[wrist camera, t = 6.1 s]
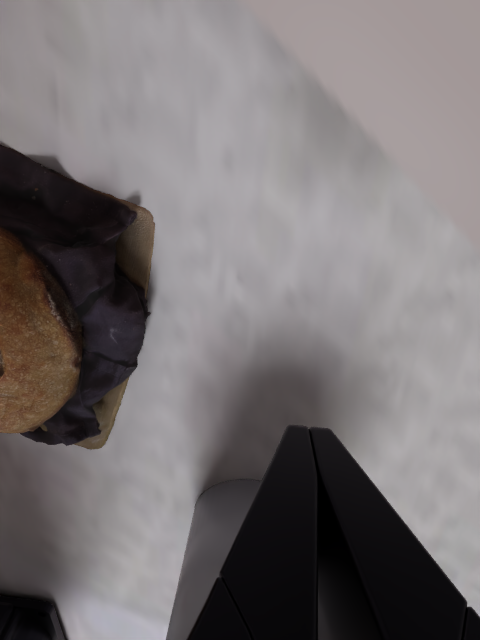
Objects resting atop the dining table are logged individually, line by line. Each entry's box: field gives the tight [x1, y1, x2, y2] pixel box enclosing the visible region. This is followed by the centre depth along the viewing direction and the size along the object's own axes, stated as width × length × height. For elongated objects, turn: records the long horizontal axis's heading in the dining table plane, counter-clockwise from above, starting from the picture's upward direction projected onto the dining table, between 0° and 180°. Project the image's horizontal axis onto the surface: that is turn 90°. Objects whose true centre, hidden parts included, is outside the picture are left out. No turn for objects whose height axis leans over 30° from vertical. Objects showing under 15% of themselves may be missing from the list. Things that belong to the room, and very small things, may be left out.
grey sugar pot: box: [166, 479, 262, 640], centre depth 13 cm, size 5×5×7 cm
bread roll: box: [0, 145, 155, 449], centre depth 12 cm, size 11×8×4 cm
